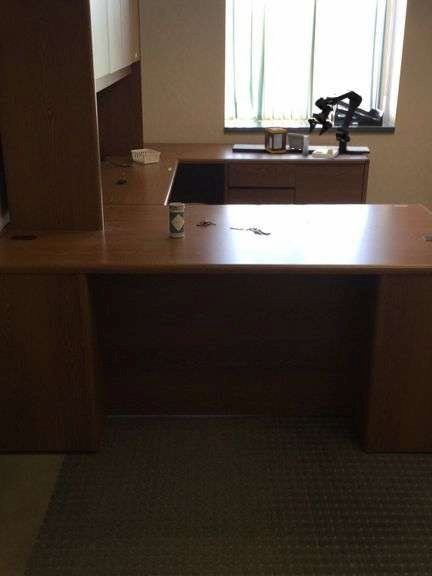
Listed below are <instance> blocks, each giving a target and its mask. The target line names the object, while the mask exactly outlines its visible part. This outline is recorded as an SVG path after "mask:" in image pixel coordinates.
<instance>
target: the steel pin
mask: <svg viewBox="0 0 432 576" xmlns="http://www.w3.org/2000/svg"><path fill="white" fill-rule="evenodd" d="M309 145H310V135H306V136H304V143H303V150H302V156H304V157H307V156H309Z"/></svg>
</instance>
